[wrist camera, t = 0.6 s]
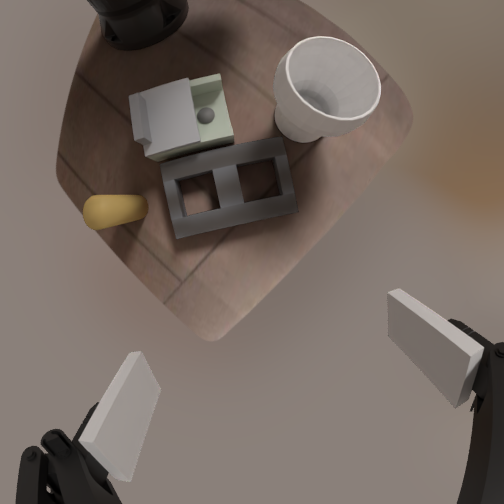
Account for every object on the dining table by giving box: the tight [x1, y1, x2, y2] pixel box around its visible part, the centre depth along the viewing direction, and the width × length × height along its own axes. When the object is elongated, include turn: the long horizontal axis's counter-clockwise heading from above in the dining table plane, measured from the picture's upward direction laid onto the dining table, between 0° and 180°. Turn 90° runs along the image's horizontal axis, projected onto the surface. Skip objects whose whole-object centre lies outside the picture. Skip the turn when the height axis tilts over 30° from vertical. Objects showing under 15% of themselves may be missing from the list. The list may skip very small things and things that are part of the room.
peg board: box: [160, 136, 299, 239], centre depth 34 cm, size 10×16×3 cm, turn 102°
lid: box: [129, 78, 201, 157], centre depth 27 cm, size 9×7×4 cm
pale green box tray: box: [148, 74, 234, 162], centre depth 32 cm, size 9×11×4 cm
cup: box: [273, 36, 381, 143], centre depth 27 cm, size 11×11×15 cm
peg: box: [83, 195, 148, 230], centre depth 30 cm, size 4×4×12 cm
